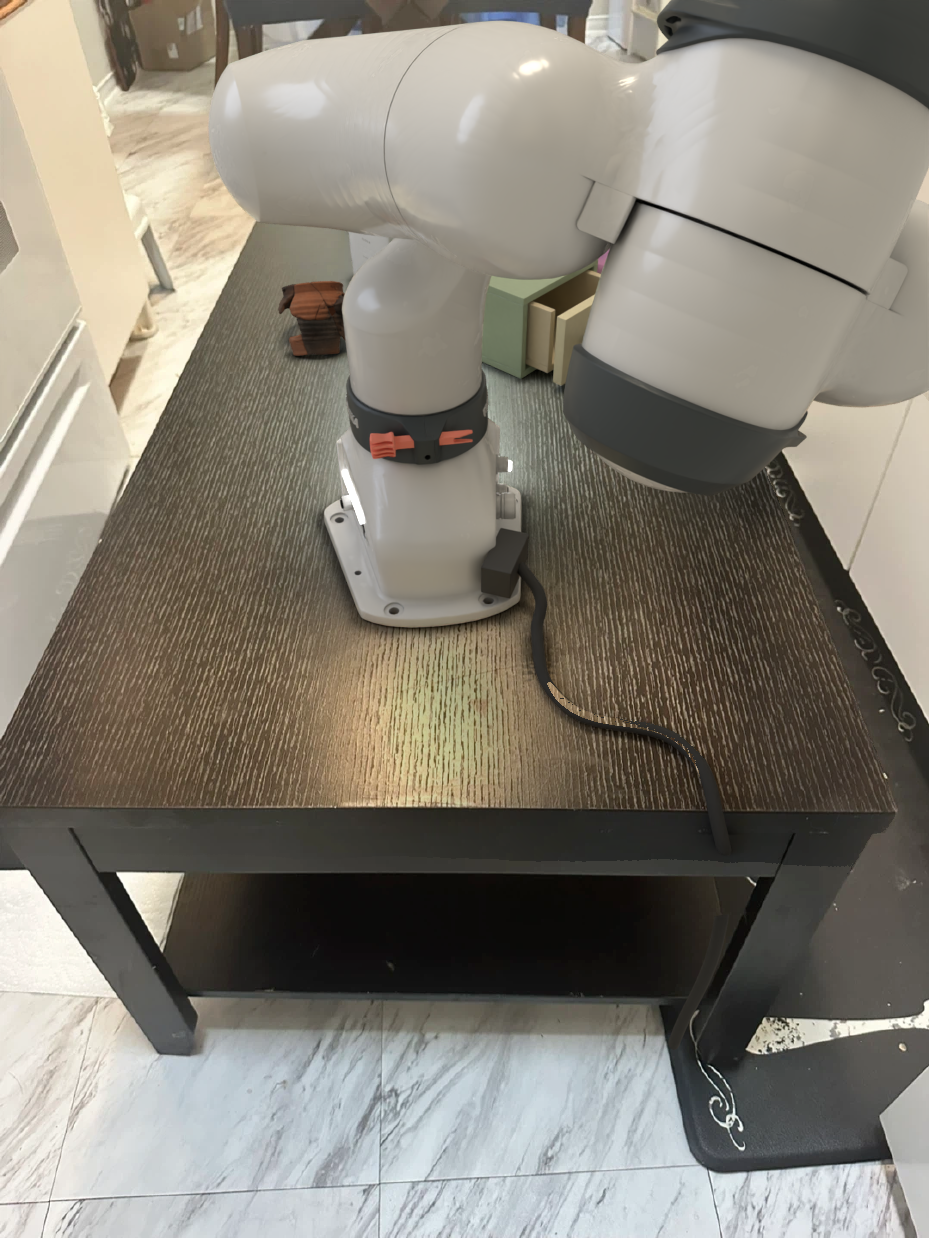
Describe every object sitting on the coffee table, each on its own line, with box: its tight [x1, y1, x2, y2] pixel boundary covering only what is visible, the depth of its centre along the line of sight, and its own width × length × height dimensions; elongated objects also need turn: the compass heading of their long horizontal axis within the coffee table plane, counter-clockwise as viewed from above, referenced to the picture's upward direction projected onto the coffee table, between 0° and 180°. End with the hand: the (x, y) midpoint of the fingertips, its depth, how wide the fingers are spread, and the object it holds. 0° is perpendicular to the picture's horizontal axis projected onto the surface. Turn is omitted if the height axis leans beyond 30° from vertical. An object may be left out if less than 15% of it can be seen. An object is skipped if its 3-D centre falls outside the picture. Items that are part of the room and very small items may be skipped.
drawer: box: [525, 270, 601, 386], centre depth 101 cm, size 20×12×8 cm, turn 48°
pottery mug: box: [277, 280, 346, 357], centre depth 106 cm, size 12×10×8 cm
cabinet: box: [482, 259, 598, 380], centre depth 105 cm, size 17×14×10 cm
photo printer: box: [348, 232, 394, 275], centre depth 113 cm, size 10×4×12 cm, turn 39°
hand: (626, 337), depth 97 cm, fingers closed on drawer, 6 cm apart
